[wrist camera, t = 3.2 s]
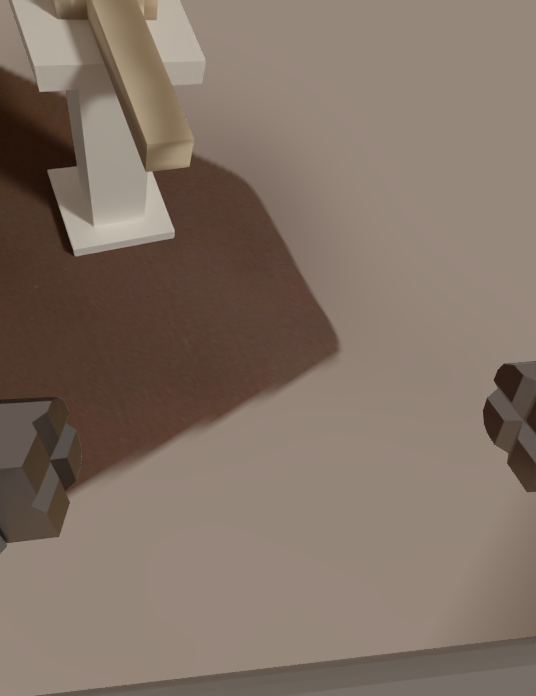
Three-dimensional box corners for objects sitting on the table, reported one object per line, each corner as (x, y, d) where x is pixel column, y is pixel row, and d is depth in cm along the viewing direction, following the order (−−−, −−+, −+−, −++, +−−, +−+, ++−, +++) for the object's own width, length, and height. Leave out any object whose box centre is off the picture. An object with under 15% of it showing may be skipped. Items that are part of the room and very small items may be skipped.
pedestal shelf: (74, 256, 51) (34, 66, 29) (49, 178, 53) (-8, -58, 31) (173, 237, 56) (206, 60, 33) (146, 166, 58) (159, -46, 35)
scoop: (114, 176, 28) (112, 134, 25) (34, -45, 31) (24, -106, 28) (216, 163, 30) (227, 124, 27) (132, -39, 34) (132, -94, 31)
